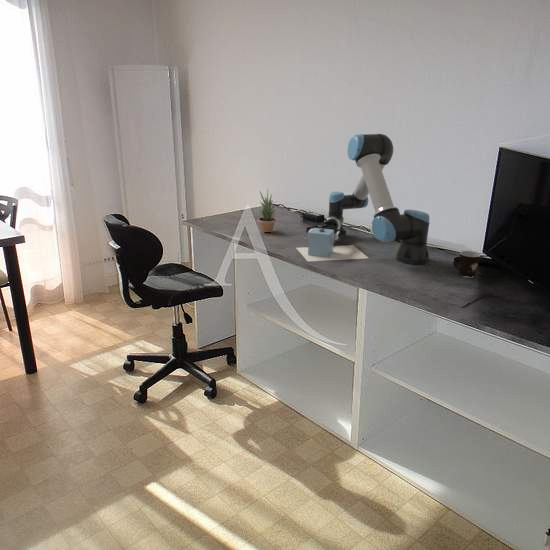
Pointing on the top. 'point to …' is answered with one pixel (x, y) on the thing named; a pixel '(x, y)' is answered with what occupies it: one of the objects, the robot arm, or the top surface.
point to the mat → (335, 253)
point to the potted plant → (267, 215)
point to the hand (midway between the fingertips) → (322, 235)
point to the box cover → (320, 242)
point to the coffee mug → (468, 263)
